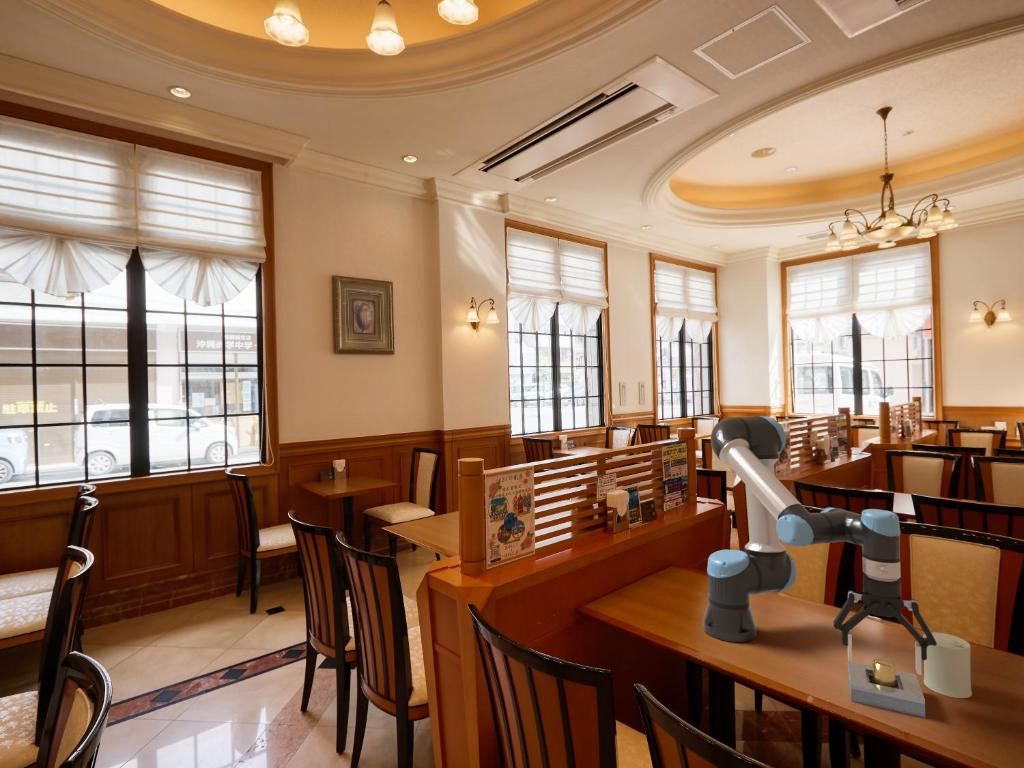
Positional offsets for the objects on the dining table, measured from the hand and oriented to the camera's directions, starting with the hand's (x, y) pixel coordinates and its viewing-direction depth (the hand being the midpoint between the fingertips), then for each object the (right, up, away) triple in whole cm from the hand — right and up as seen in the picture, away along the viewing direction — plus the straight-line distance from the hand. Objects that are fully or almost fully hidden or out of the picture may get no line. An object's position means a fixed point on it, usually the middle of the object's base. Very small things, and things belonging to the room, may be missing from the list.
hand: (883, 665), depth 129 cm
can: (+18, -7, +3) cm, 19 cm away
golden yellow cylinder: (0, -7, 0) cm, 7 cm away
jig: (0, -7, 0) cm, 7 cm away
